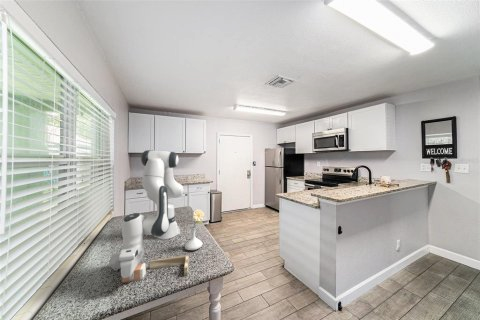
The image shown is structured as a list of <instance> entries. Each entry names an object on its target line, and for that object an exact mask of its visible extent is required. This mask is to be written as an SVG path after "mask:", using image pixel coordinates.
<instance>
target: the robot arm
mask: <svg viewBox="0 0 480 320" xmlns="http://www.w3.org/2000/svg"><path fill="white" fill-rule="evenodd" d="M179 160H180V159H179V154H177V153H176V152H175V151H166V150H150V149H148V150H144V151H143V152H142V153H141V158H140V162H141V164H142V165H143V166H144V169H143V174H142V179H141V186H142V189H144V191H146V196H147V198H148V199H149V200H151V201H152V202H154V204H155V205H156V215H151V214H150V215H149V214H140V213H139V212H135V213H134V212H133V213H130V214H128V215H126V216H125V217H124V218H123V220H122V222H121V223H122V225H121V236H122V243H121V245H122V247H121V250H120V251H121V254H120V256H119V261H121V263H120V268H121V269H120V275H121V279H122V278H128V277H129V279H130V280H132V279H134V277H135V276H134V273H133V272H134V270H135V268H136V266H137V265H138V264H140V262H141V259H142V257H143V256H144V251H145V249H144V235H147V236H148V235H149V236H153V237H154V238H157V239H159V240H168V239H171V238H174V237H177V236H178V235H180V234H181V229H180V226H179V225H178V223H177V221H176V215H175V206H174V204H173V203H170V202H169V199H176V198H180V197H182V196H183V194H184V191H185V190H184V186H183V185H182V184H181V183H179V182H178V181H177V180H175V176H174V168H176V167H178V164H179Z"/></svg>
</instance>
